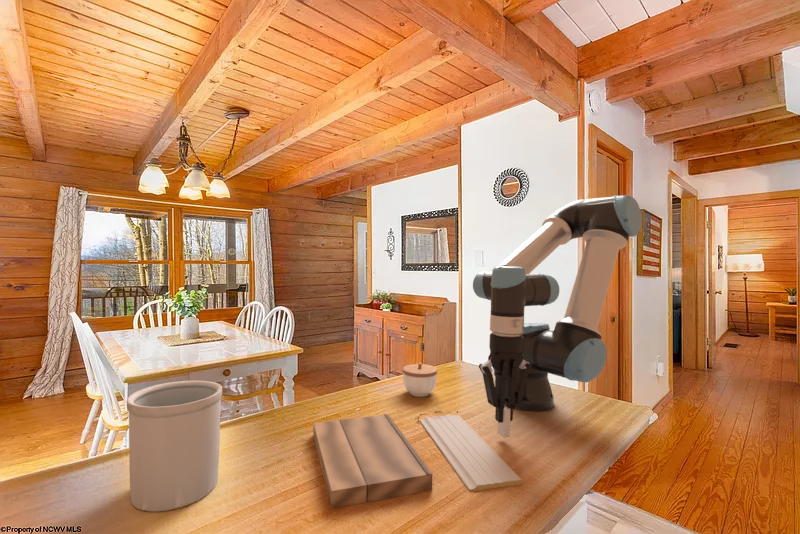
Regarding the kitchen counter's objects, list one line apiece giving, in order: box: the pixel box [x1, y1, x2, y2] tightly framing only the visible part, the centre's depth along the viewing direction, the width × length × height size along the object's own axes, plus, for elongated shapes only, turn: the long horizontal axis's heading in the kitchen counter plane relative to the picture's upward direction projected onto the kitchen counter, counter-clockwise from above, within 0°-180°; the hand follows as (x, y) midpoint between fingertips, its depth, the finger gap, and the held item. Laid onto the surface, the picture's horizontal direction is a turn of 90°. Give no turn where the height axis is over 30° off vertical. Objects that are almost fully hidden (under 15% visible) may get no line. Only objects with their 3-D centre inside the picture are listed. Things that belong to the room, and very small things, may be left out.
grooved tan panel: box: [313, 413, 433, 509], centre depth 83 cm, size 18×28×3 cm, turn 18°
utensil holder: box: [126, 380, 223, 512], centre depth 71 cm, size 15×15×18 cm
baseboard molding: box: [415, 410, 523, 492], centre depth 88 cm, size 31×3×12 cm
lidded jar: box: [402, 362, 438, 398], centre depth 123 cm, size 11×11×9 cm
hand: (503, 434), depth 92 cm, fingers closed
